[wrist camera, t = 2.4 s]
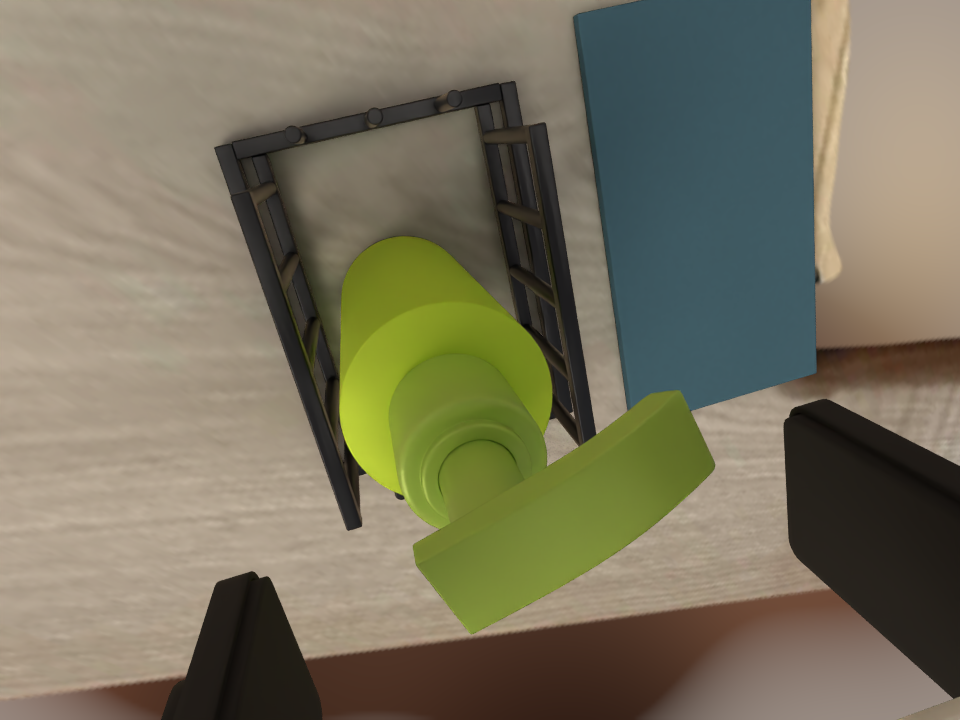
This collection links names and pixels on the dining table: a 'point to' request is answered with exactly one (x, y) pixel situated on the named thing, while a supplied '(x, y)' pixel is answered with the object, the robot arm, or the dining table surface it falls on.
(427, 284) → the soap dispenser
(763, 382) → the drying mat
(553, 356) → the dish rack
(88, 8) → the dining table surface
